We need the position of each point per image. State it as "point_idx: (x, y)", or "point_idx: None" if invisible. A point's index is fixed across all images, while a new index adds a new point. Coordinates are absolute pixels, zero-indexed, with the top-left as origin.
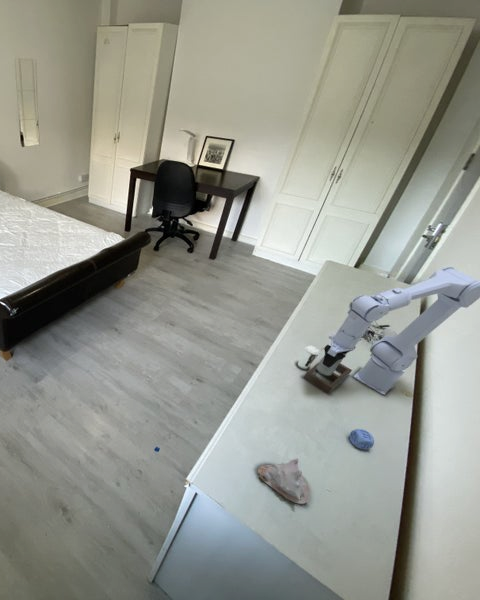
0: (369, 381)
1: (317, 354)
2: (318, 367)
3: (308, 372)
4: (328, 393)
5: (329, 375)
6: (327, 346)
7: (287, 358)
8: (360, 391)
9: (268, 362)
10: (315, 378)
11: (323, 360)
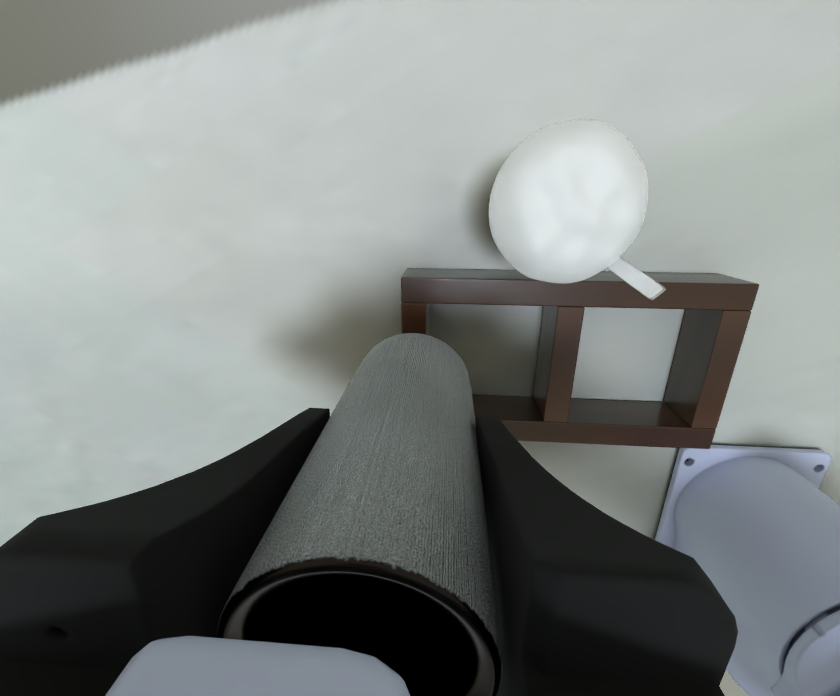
0: (686, 522)
1: (532, 278)
2: (364, 358)
3: (411, 284)
4: None
5: (542, 371)
6: (49, 585)
7: (514, 82)
8: (581, 496)
9: (324, 10)
10: None
11: (285, 423)
